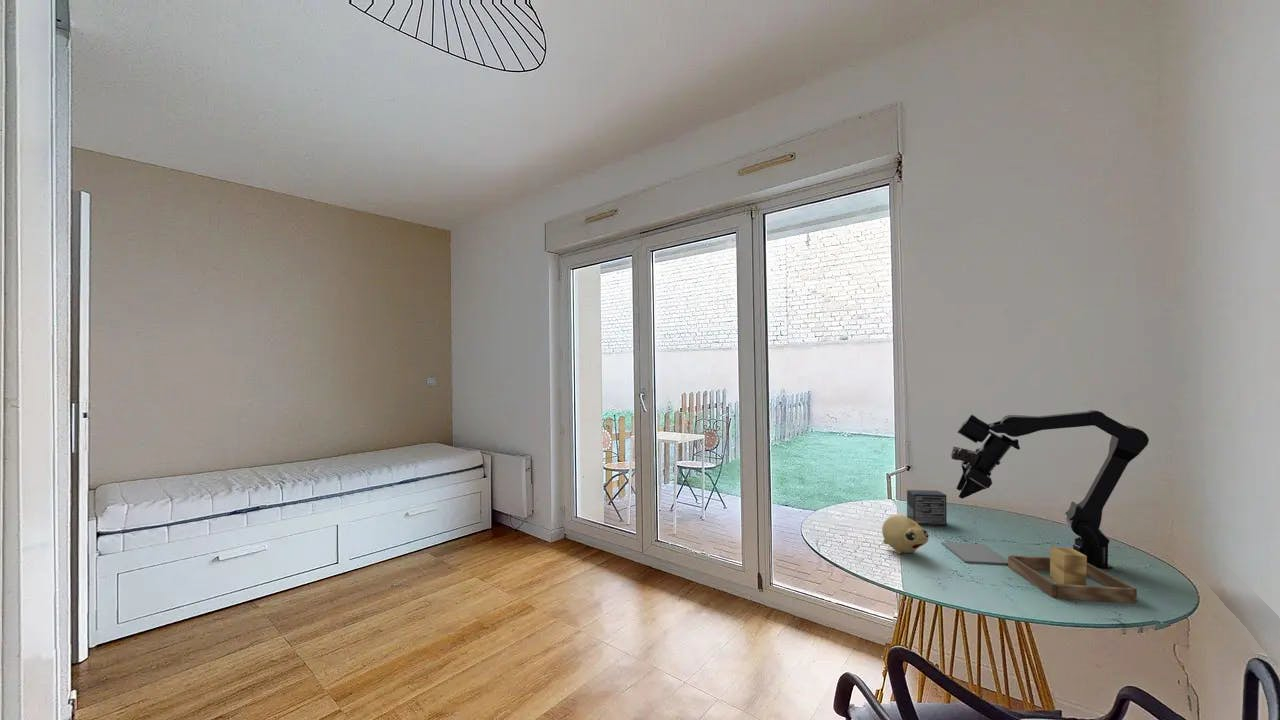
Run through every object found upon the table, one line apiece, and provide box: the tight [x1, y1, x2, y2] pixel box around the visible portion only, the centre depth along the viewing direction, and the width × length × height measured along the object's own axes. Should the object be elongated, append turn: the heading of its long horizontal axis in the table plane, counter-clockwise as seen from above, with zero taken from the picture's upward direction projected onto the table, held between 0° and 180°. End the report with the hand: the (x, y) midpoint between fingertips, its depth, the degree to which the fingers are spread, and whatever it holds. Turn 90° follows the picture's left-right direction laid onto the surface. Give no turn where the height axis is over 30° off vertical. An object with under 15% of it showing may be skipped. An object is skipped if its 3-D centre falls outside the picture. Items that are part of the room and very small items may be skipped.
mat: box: [940, 541, 1008, 566], centre depth 145 cm, size 12×14×1 cm
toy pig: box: [881, 513, 930, 555], centre depth 146 cm, size 10×12×11 cm
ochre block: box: [1049, 546, 1087, 586], centre depth 127 cm, size 5×5×8 cm
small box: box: [906, 489, 948, 527], centre depth 172 cm, size 11×6×10 cm, turn 84°
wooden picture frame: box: [1007, 554, 1138, 604], centre depth 127 cm, size 18×18×3 cm
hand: (959, 493), depth 155 cm, fingers open, 9 cm apart
